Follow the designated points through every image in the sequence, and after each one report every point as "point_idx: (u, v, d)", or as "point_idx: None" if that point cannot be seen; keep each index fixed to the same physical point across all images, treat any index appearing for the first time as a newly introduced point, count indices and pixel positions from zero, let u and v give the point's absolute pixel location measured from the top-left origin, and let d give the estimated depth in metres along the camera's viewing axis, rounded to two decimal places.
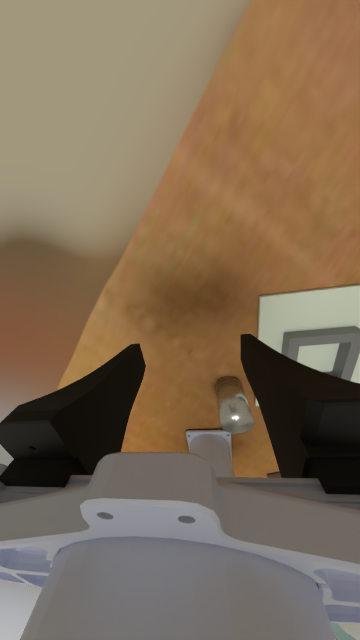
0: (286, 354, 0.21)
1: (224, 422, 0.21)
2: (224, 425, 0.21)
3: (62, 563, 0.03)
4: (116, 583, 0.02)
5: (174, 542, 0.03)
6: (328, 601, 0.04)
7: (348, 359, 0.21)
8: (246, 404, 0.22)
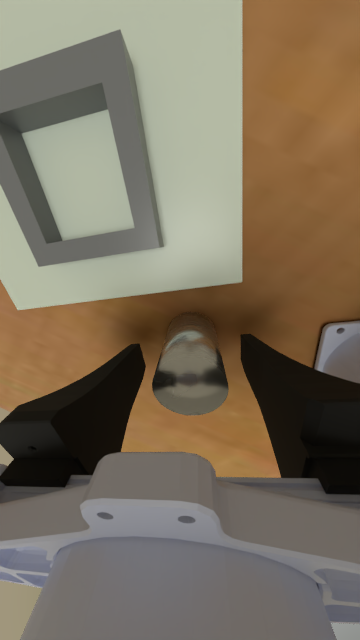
0: (76, 260, 0.11)
1: (189, 409, 0.10)
2: (199, 409, 0.10)
3: (62, 563, 0.03)
4: (116, 583, 0.02)
5: (174, 542, 0.03)
6: (328, 601, 0.04)
7: (36, 95, 0.08)
8: (164, 351, 0.10)
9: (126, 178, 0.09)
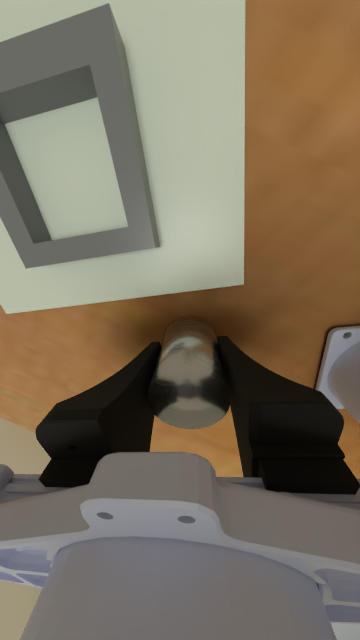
0: (66, 262, 0.10)
1: (188, 422, 0.09)
2: (198, 422, 0.09)
3: (62, 563, 0.03)
4: (116, 583, 0.02)
5: (174, 542, 0.03)
6: (328, 601, 0.04)
7: (17, 79, 0.07)
8: (161, 359, 0.09)
9: (118, 172, 0.08)
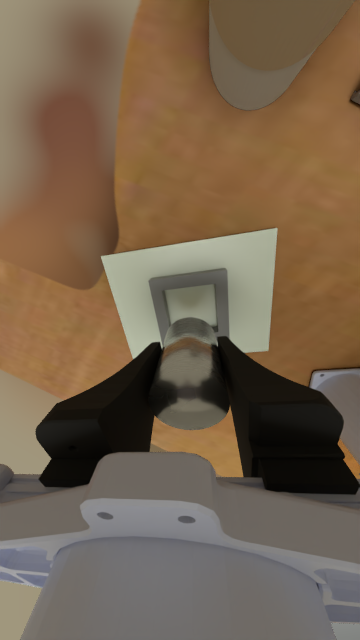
0: None
1: (189, 424, 0.09)
2: (199, 423, 0.09)
3: (62, 563, 0.03)
4: (116, 583, 0.02)
5: (174, 542, 0.03)
6: (328, 601, 0.04)
7: (184, 285, 0.18)
8: (160, 362, 0.09)
9: (218, 314, 0.19)
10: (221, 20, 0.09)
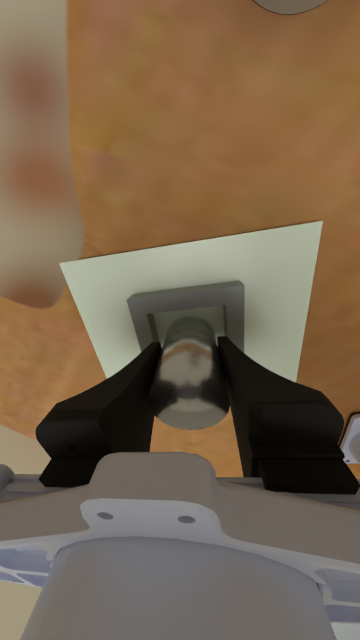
0: None
1: (189, 423, 0.09)
2: (199, 423, 0.09)
3: (62, 563, 0.03)
4: (116, 583, 0.02)
5: (174, 542, 0.03)
6: (328, 601, 0.04)
7: (180, 307, 0.12)
8: (160, 362, 0.09)
9: None
10: None
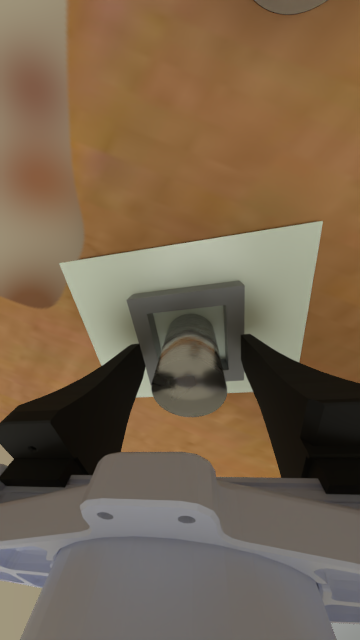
0: None
1: (189, 411, 0.10)
2: (199, 410, 0.10)
3: (62, 563, 0.03)
4: (116, 583, 0.02)
5: (174, 542, 0.03)
6: (328, 601, 0.04)
7: (180, 307, 0.12)
8: (162, 354, 0.10)
9: (229, 346, 0.13)
10: None
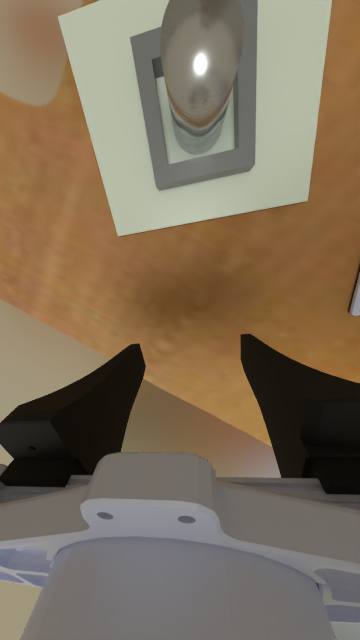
0: (185, 180, 0.14)
1: (201, 89, 0.09)
2: (212, 87, 0.09)
3: (62, 563, 0.03)
4: (116, 583, 0.02)
5: (174, 542, 0.03)
6: (328, 601, 0.04)
7: None
8: None
9: (240, 106, 0.12)
10: None
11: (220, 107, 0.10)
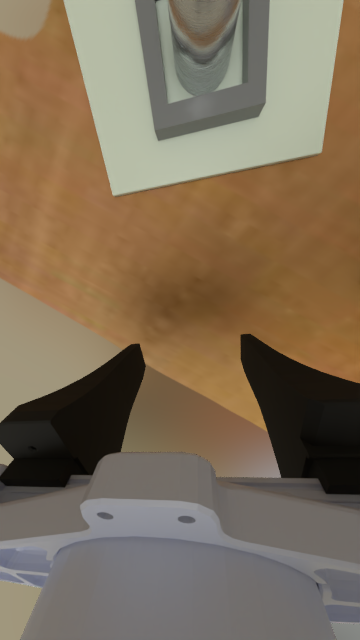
0: (187, 124, 0.13)
1: None
2: None
3: (62, 563, 0.03)
4: (116, 583, 0.02)
5: (174, 542, 0.03)
6: (328, 601, 0.04)
7: None
8: None
9: (250, 29, 0.11)
10: None
11: (228, 9, 0.09)
